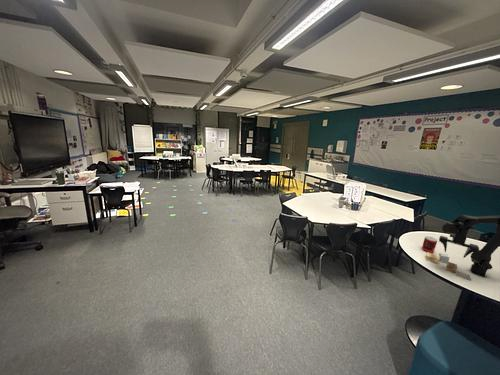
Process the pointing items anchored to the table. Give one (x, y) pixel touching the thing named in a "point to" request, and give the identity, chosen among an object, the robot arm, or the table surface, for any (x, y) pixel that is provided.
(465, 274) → the card
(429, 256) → the oak base
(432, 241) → the canned food
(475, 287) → the table surface
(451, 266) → the walnut block
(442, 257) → the grey block
